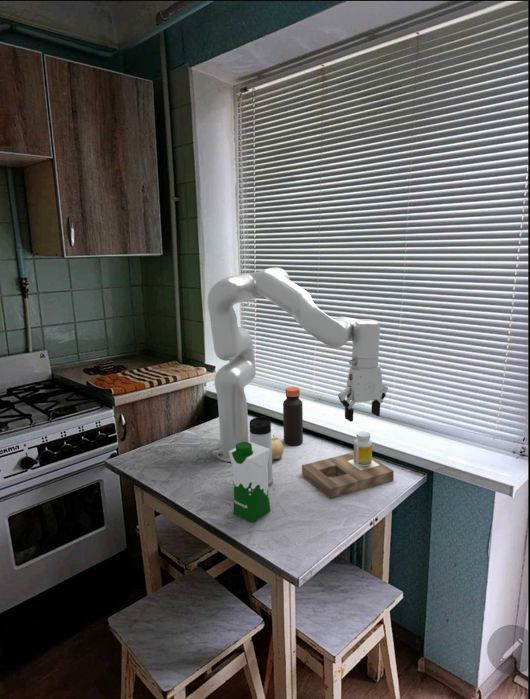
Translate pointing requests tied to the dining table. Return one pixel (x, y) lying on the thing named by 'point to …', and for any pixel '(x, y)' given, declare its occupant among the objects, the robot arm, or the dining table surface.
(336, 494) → the socket board
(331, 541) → the dining table surface
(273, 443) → the onion
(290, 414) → the vinegar
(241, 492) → the milk carton
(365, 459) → the supplement bottle
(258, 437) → the travel mug
